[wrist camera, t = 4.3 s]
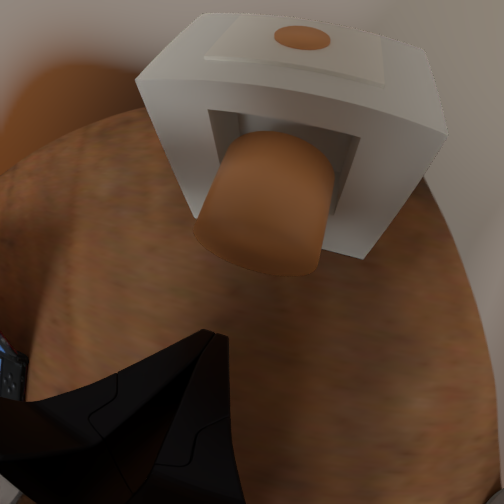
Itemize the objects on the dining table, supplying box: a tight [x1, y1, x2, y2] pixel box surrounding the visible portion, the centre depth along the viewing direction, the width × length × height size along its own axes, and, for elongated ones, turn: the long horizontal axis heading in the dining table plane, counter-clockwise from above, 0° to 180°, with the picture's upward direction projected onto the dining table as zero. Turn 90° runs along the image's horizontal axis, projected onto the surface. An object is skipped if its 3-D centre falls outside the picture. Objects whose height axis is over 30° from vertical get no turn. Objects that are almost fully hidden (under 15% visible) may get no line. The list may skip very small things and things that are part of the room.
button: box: [193, 131, 335, 277], centre depth 12 cm, size 4×5×5 cm
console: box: [135, 13, 448, 259], centre depth 16 cm, size 7×12×12 cm, turn 74°
